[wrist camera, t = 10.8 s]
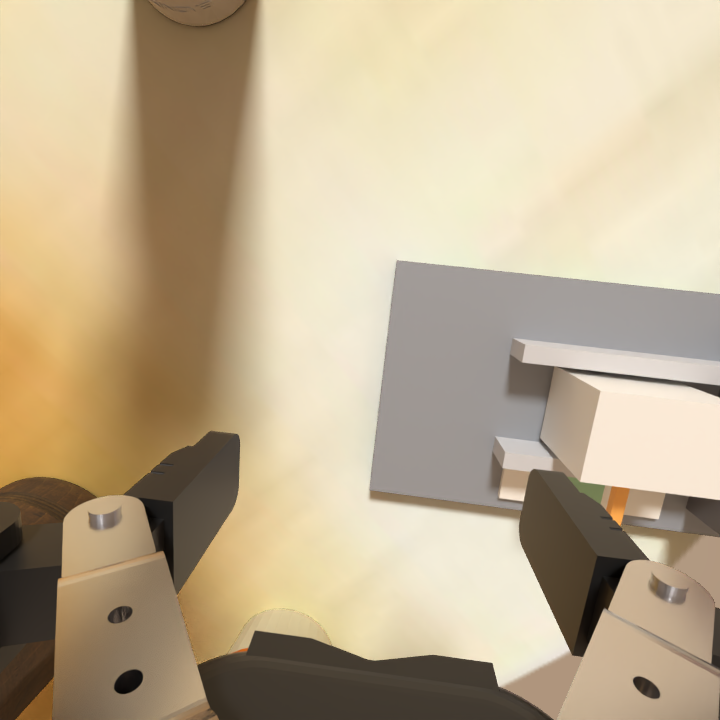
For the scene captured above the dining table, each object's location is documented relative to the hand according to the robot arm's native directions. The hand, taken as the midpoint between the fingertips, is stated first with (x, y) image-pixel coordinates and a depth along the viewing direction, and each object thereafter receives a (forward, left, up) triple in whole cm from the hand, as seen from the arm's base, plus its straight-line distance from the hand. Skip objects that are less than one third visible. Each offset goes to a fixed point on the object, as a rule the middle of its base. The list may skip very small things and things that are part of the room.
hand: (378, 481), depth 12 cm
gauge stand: (+2, +14, -22) cm, 26 cm away
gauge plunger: (+4, +16, -20) cm, 26 cm away
